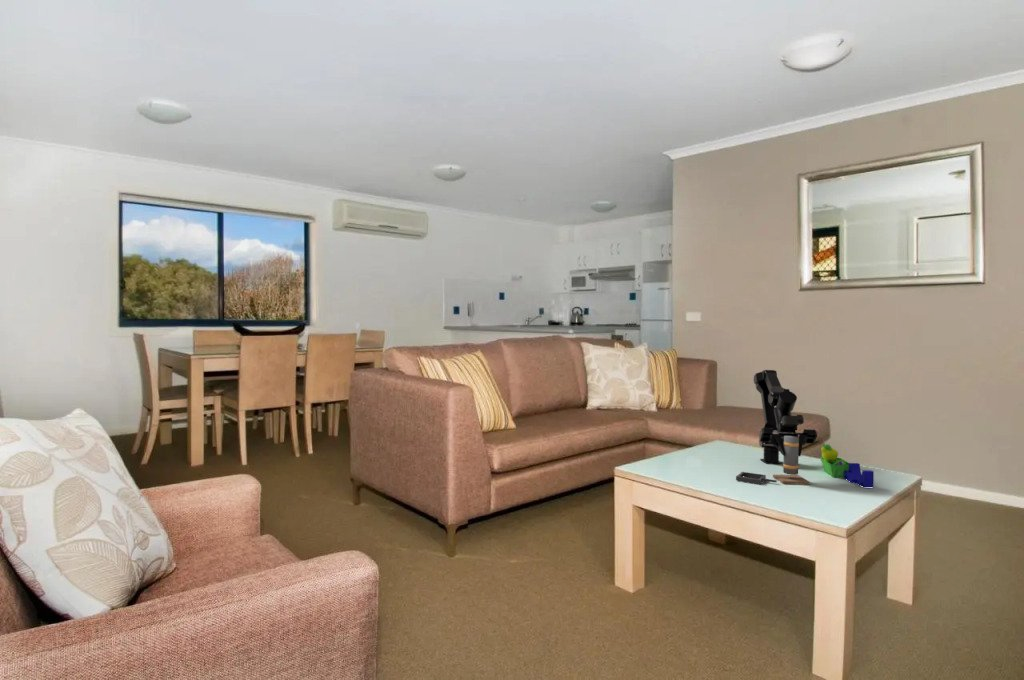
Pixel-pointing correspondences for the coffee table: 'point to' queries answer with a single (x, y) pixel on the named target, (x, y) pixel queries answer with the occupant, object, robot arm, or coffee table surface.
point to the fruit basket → (833, 462)
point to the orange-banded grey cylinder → (791, 455)
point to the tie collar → (758, 480)
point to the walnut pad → (791, 479)
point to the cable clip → (859, 475)
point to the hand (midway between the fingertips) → (792, 455)
